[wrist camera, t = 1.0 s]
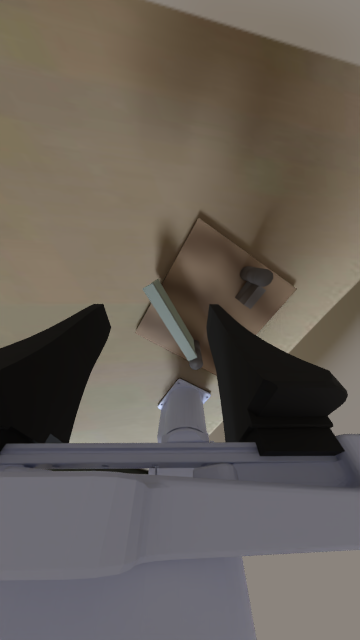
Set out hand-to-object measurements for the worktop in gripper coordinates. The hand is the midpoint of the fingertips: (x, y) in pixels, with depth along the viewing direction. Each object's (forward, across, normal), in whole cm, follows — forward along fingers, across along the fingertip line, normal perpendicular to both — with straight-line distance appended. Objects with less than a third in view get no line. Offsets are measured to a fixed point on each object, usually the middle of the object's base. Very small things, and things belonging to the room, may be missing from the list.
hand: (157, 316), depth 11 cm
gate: (+12, -1, +8) cm, 14 cm away
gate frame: (+13, -7, +8) cm, 17 cm away
